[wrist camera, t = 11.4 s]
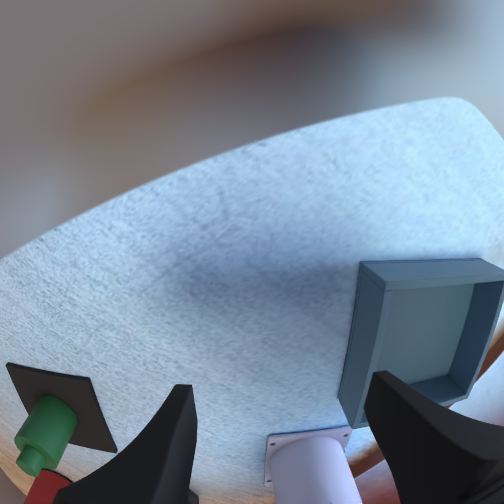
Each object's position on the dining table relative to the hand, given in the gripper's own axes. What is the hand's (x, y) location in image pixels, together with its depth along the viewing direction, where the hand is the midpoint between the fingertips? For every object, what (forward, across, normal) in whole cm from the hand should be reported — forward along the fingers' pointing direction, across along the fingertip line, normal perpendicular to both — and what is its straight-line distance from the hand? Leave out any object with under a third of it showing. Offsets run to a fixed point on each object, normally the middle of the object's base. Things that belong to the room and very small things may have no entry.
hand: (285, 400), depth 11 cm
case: (+10, -13, +4) cm, 17 cm away
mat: (+10, +19, +12) cm, 25 cm away
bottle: (+9, +19, +12) cm, 25 cm away
